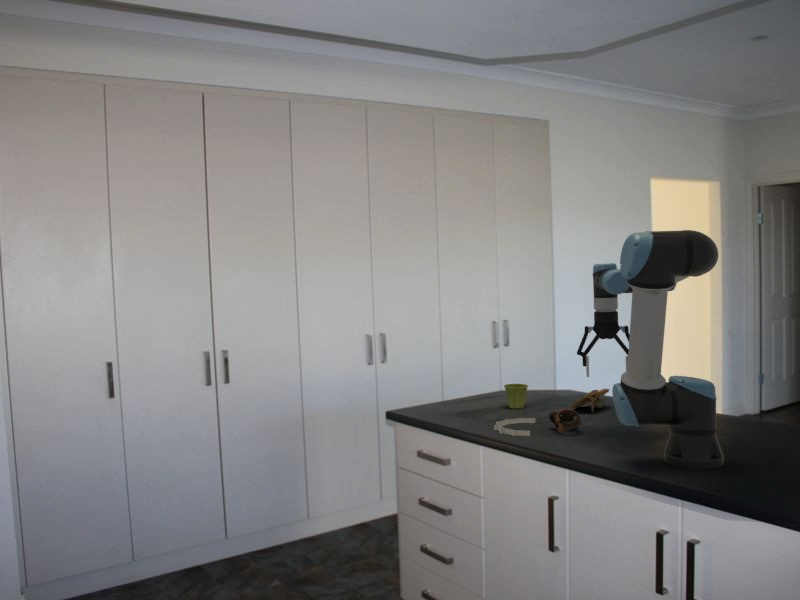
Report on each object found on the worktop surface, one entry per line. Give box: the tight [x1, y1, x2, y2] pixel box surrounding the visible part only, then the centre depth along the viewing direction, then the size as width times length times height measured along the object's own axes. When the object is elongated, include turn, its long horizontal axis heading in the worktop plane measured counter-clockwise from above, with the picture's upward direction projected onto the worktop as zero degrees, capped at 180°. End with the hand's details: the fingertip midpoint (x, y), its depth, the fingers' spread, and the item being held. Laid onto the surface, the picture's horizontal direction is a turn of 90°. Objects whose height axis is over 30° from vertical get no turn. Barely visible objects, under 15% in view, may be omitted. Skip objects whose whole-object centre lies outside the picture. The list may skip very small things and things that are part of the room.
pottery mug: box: [548, 408, 583, 435], centre depth 224 cm, size 12×9×8 cm
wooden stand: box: [570, 387, 610, 414], centre depth 253 cm, size 18×14×8 cm
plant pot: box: [503, 383, 529, 410], centre depth 264 cm, size 9×9×9 cm
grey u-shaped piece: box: [493, 417, 536, 437], centre depth 231 cm, size 21×13×2 cm, turn 163°
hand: (607, 376), depth 221 cm, fingers open, 12 cm apart
